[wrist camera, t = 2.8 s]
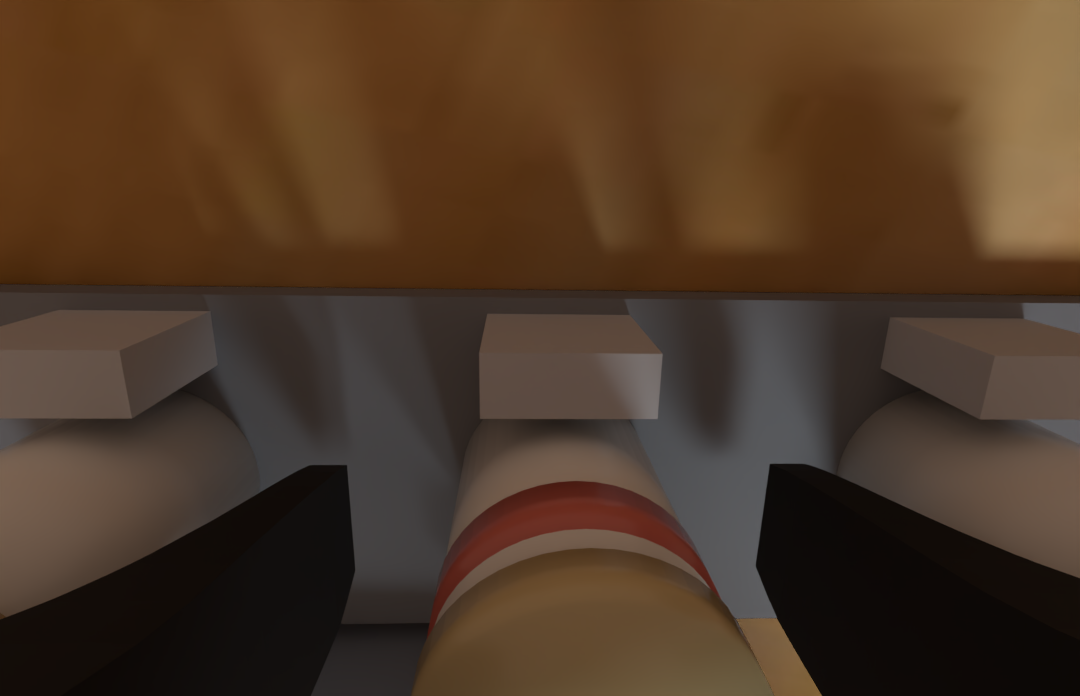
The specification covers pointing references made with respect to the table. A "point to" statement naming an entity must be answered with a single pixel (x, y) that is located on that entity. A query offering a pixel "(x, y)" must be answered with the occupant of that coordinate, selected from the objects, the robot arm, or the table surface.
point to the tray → (372, 660)
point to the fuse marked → (575, 576)
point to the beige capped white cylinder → (974, 475)
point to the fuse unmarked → (113, 493)
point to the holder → (531, 389)
